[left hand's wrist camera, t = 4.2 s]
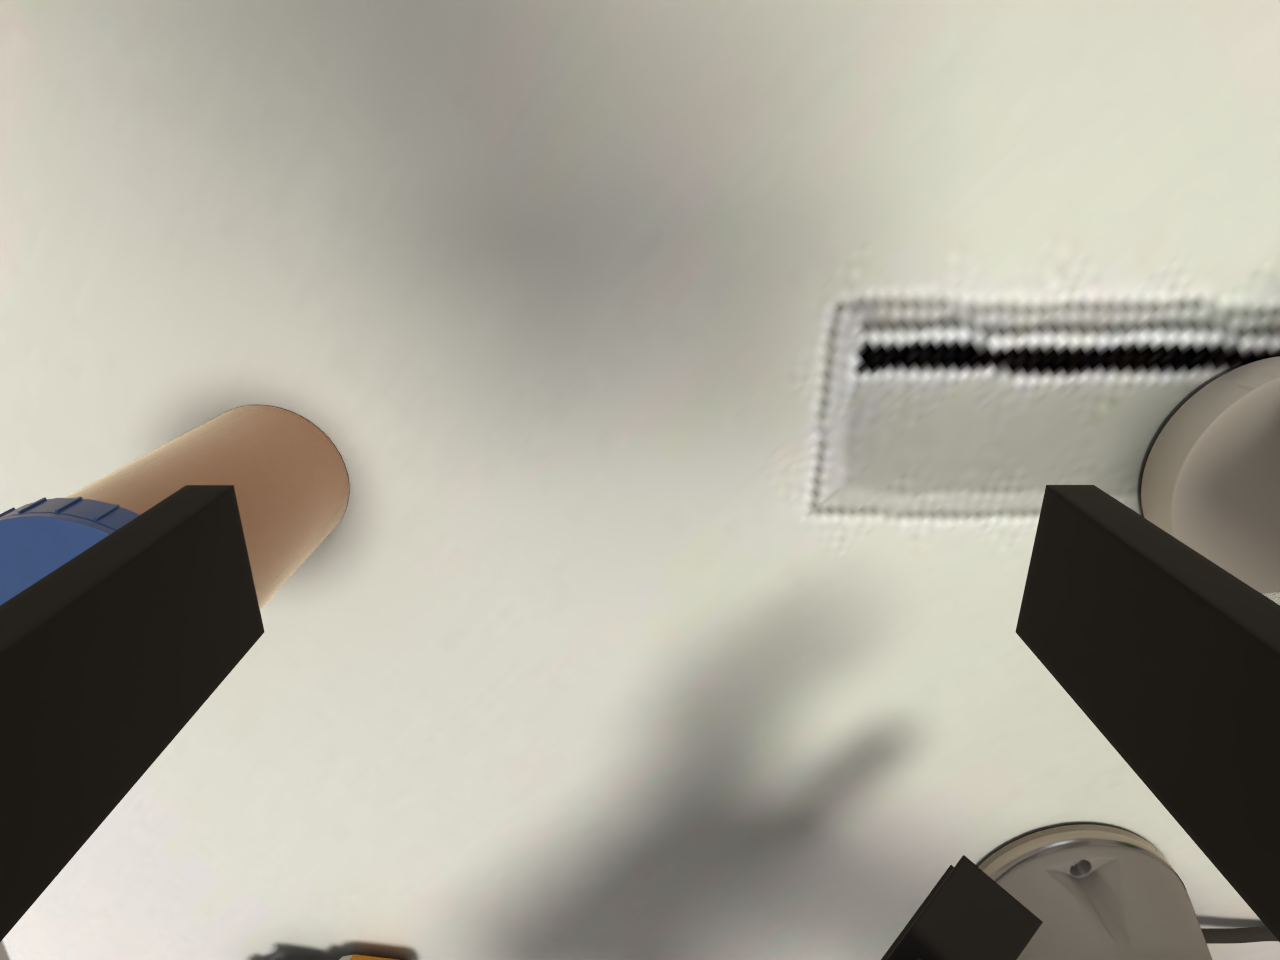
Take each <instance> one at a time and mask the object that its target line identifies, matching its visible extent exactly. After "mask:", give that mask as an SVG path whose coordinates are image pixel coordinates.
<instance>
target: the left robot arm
mask: <svg viewBox="0 0 1280 960" xmlns="http://www.w3.org/2000/svg"><path fill="white" fill-rule="evenodd" d="M263 633H264V628H263V623H262V618H261V614H260V609H259V604H258V599H257V594H256V590H255V585H254V580H253V575H252V571H251V566H250V561H249V556H248V551H247V547H246V542H245V537H244V532H243V527H242V523H241V518H240V513H239V508H238V503H237V499H236V494H235V489H234V485H186V486H184V487H183V488H181V489H179V490H178V491H176V492H175V493H173V494H172V495H170V496H169V497H167V498H166V499H164V500H162V501H161V502H159V503H158V504H156V505H155V506H153V507H152V508H150V509H149V510H147V511H146V512H144V513H142V514H141V515H139V516H138V517H136V518H135V519H133V520H132V521H130V522H129V523H127V524H125V525H124V526H122V527H121V528H119V529H118V530H116V531H115V532H113V533H112V534H110V535H108V536H107V537H105V538H104V539H102V540H101V541H99V542H98V543H96V544H95V545H93V546H91V547H90V548H88V549H87V550H85V551H84V552H82V553H81V554H79V555H78V556H76V557H75V558H73V559H71V560H70V561H68V562H67V563H65V564H64V565H62V566H61V567H59V568H58V569H56V570H54V571H53V572H51V573H50V574H48V575H47V576H45V577H44V578H42V579H41V580H39V581H37V582H36V583H34V584H33V585H31V586H30V587H28V588H27V589H25V590H24V591H22V592H21V593H19V594H17V595H16V596H14V597H13V598H11V599H10V600H8V601H7V602H5V603H4V604H2V605H0V942H1V941H2V939H3V938H4V937H5V936H6V935H7V933H8V932H9V931H10V930H11V929H12V928H13V926H14V925H15V924H16V923H17V922H18V921H19V919H20V918H21V917H22V916H23V915H24V914H25V912H26V911H27V910H28V909H29V908H30V906H31V905H32V904H33V903H34V902H35V901H36V899H37V898H38V897H39V896H40V895H41V894H42V892H43V891H44V890H45V889H46V888H47V887H48V885H49V884H50V883H51V882H52V881H53V879H54V878H55V877H56V876H57V875H58V874H59V872H60V871H61V870H62V869H63V868H64V867H65V865H66V864H67V863H68V862H69V861H70V860H71V858H72V857H73V856H74V855H75V854H76V852H77V851H78V850H79V849H80V848H81V847H82V845H83V844H84V843H85V842H86V841H87V840H88V838H89V837H90V836H91V835H92V834H93V833H94V831H95V830H96V829H97V828H98V827H99V825H100V824H101V823H102V822H103V821H104V820H105V818H106V817H107V816H108V815H109V814H110V813H111V811H112V810H113V809H114V808H115V807H116V806H117V804H118V803H119V802H120V801H121V800H122V798H123V797H124V796H125V795H126V794H127V793H128V791H129V790H130V789H131V788H132V787H133V786H134V784H135V783H136V782H137V781H138V780H139V779H140V777H141V776H142V775H143V774H144V773H145V771H146V770H147V769H148V768H149V767H150V766H151V764H152V763H153V762H154V761H155V760H156V759H157V757H158V756H159V755H160V754H161V753H162V752H163V750H164V749H165V748H166V747H167V746H168V744H169V743H170V742H171V741H172V740H173V739H174V737H175V736H176V735H177V734H178V733H179V732H180V730H181V729H182V728H183V727H184V726H185V725H186V723H187V722H188V721H189V720H190V719H191V718H192V716H193V715H194V714H195V713H196V712H197V710H198V709H199V708H200V707H201V706H202V705H203V703H204V702H205V701H206V700H207V699H208V698H209V696H210V695H211V694H212V693H213V692H214V691H215V689H216V688H217V687H218V686H219V685H220V683H221V682H222V681H223V680H224V679H225V678H226V676H227V675H228V674H229V673H230V672H231V671H232V669H233V668H234V667H235V666H236V665H237V664H238V662H239V661H240V660H241V659H242V658H243V656H244V655H245V654H246V653H247V652H248V651H249V649H250V648H251V647H252V646H253V645H254V644H255V642H256V641H257V640H258V639H259V638H260V637H261V635H262V634H263ZM1016 633H1017V634H1018V635H1019V637H1020V638H1021V639H1022V640H1023V641H1024V642H1025V644H1026V645H1027V646H1028V647H1029V648H1030V649H1031V651H1032V652H1033V653H1034V654H1035V655H1036V656H1037V658H1038V659H1039V660H1040V661H1041V662H1042V664H1043V665H1044V666H1045V667H1046V668H1047V669H1048V671H1049V672H1050V673H1051V674H1052V675H1053V676H1054V678H1055V679H1056V680H1057V681H1058V682H1059V683H1060V685H1061V686H1062V687H1063V688H1064V689H1065V691H1066V692H1067V693H1068V694H1069V695H1070V696H1071V698H1072V699H1073V700H1074V701H1075V702H1076V703H1077V705H1078V706H1079V707H1080V708H1081V709H1082V710H1083V712H1084V713H1085V714H1086V715H1087V716H1088V718H1089V719H1090V720H1091V721H1092V722H1093V723H1094V725H1095V726H1096V727H1097V728H1098V729H1099V730H1100V732H1101V733H1102V734H1103V735H1104V736H1105V737H1106V739H1107V740H1108V741H1109V742H1110V743H1111V744H1112V746H1113V747H1114V748H1115V749H1116V750H1117V752H1118V753H1119V754H1120V755H1121V756H1122V757H1123V759H1124V760H1125V761H1126V762H1127V763H1128V764H1129V766H1130V767H1131V768H1132V769H1133V770H1134V771H1135V773H1136V774H1137V775H1138V776H1139V777H1140V779H1141V780H1142V781H1143V782H1144V783H1145V784H1146V786H1147V787H1148V788H1149V789H1150V790H1151V791H1152V793H1153V794H1154V795H1155V796H1156V797H1157V798H1158V800H1159V801H1160V802H1161V803H1162V804H1163V806H1164V807H1165V808H1166V809H1167V810H1168V811H1169V813H1170V814H1171V815H1172V816H1173V817H1174V818H1175V820H1176V821H1177V822H1178V823H1179V824H1180V825H1181V827H1182V828H1183V829H1184V830H1185V831H1186V833H1187V834H1188V835H1189V836H1190V837H1191V838H1192V840H1193V841H1194V842H1195V843H1196V844H1197V845H1198V847H1199V848H1200V849H1201V850H1202V851H1203V852H1204V854H1205V855H1206V856H1207V857H1208V858H1209V860H1210V861H1211V862H1212V863H1213V864H1214V865H1215V867H1216V868H1217V869H1218V870H1219V871H1220V872H1221V874H1222V875H1223V876H1224V877H1225V878H1226V879H1227V881H1228V882H1229V883H1230V884H1231V885H1232V887H1233V888H1234V889H1235V890H1236V891H1237V892H1238V894H1239V895H1240V896H1241V897H1242V898H1243V899H1244V901H1245V902H1246V903H1247V904H1248V905H1249V906H1250V908H1251V909H1252V910H1253V911H1254V912H1255V914H1256V915H1257V916H1258V917H1259V918H1260V919H1261V921H1262V922H1263V923H1264V924H1265V925H1266V926H1267V928H1268V929H1269V930H1270V931H1271V932H1272V933H1273V935H1274V936H1275V937H1276V938H1277V939H1278V941H1279V942H1280V605H1278V604H1276V603H1275V602H1273V601H1272V600H1270V599H1269V598H1267V597H1266V596H1264V595H1263V594H1261V593H1259V592H1258V591H1256V590H1255V589H1253V588H1252V587H1250V586H1249V585H1247V584H1246V583H1244V582H1243V581H1241V580H1239V579H1238V578H1236V577H1235V576H1233V575H1232V574H1230V573H1229V572H1227V571H1226V570H1224V569H1222V568H1221V567H1219V566H1218V565H1216V564H1215V563H1213V562H1212V561H1210V560H1209V559H1207V558H1205V557H1204V556H1202V555H1201V554H1199V553H1198V552H1196V551H1195V550H1193V549H1192V548H1190V547H1189V546H1187V545H1185V544H1184V543H1182V542H1181V541H1179V540H1178V539H1176V538H1175V537H1173V536H1172V535H1170V534H1168V533H1167V532H1165V531H1164V530H1162V529H1161V528H1159V527H1158V526H1156V525H1155V524H1153V523H1151V522H1150V521H1148V520H1147V519H1145V518H1144V517H1142V516H1141V515H1139V514H1138V513H1136V512H1134V511H1133V510H1131V509H1130V508H1128V507H1127V506H1125V505H1124V504H1122V503H1121V502H1119V501H1118V500H1116V499H1114V498H1113V497H1111V496H1110V495H1108V494H1107V493H1105V492H1104V491H1102V490H1101V489H1099V488H1097V487H1096V486H1094V485H1046V489H1045V494H1044V499H1043V503H1042V508H1041V513H1040V518H1039V523H1038V527H1037V532H1036V537H1035V542H1034V547H1033V551H1032V556H1031V561H1030V566H1029V571H1028V575H1027V580H1026V585H1025V590H1024V594H1023V599H1022V604H1021V609H1020V614H1019V618H1018V623H1017V628H1016Z"/></svg>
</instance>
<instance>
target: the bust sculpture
mask: <svg viewBox="0 0 1280 960" xmlns="http://www.w3.org/2000/svg"><path fill="white" fill-rule="evenodd" d="M1141 502H1142V509H1143V514H1144V518H1145V519H1147V520H1148V521H1150V522H1151V523H1153V524H1155V525H1156V526H1158V527H1159V528H1161V529H1162V530H1164V531H1165V532H1167V533H1168V534H1170V535H1172V536H1173V537H1175V538H1176V539H1178V540H1179V541H1181V542H1182V543H1184V544H1185V545H1187V546H1189V547H1190V548H1192V549H1193V550H1195V551H1196V552H1198V553H1199V554H1201V555H1202V556H1204V557H1205V558H1207V559H1209V560H1210V561H1212V562H1213V563H1215V564H1216V565H1218V566H1219V567H1221V568H1222V569H1224V570H1226V571H1227V572H1229V573H1230V574H1232V575H1233V576H1235V577H1236V578H1238V579H1239V580H1241V581H1243V582H1244V583H1246V584H1247V585H1249V586H1250V587H1252V588H1253V589H1255V590H1256V591H1258V592H1259V593H1274V592H1280V356H1278V357H1272V358H1267V359H1262V360H1259V361H1255V362H1252V363H1249V364H1246V365H1243V366H1241V367H1239V368H1236V369H1234V370H1232V371H1230V372H1228V373H1226V374H1224V375H1222V376H1220V377H1219V378H1217V379H1215V380H1214V381H1212V382H1211V383H1209V384H1207V385H1206V386H1205V387H1203V388H1202V389H1201V390H1199V391H1198V392H1197V393H1196V394H1194V395H1193V396H1192V397H1191V398H1190V399H1189V400H1188V401H1186V402H1185V403H1184V404H1183V405H1182V406H1181V407H1180V408H1179V410H1178V411H1177V412H1176V413H1175V414H1174V415H1173V416H1172V418H1171V419H1170V420H1169V421H1168V423H1167V424H1166V425H1165V427H1164V428H1163V430H1162V431H1161V433H1160V434H1159V436H1158V438H1157V440H1156V441H1155V443H1154V445H1153V447H1152V449H1151V452H1150V454H1149V457H1148V459H1147V462H1146V465H1145V469H1144V473H1143V478H1142V486H1141Z"/></svg>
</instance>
